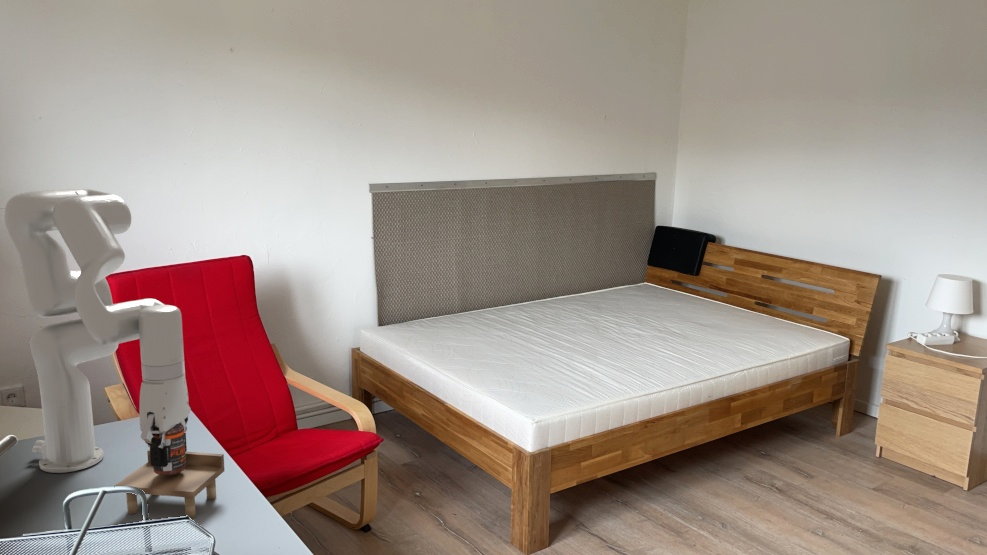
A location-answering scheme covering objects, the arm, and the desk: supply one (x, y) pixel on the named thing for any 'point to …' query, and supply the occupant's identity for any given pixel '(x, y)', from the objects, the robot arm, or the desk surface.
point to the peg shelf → (177, 480)
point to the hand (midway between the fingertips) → (169, 457)
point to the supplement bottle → (173, 451)
